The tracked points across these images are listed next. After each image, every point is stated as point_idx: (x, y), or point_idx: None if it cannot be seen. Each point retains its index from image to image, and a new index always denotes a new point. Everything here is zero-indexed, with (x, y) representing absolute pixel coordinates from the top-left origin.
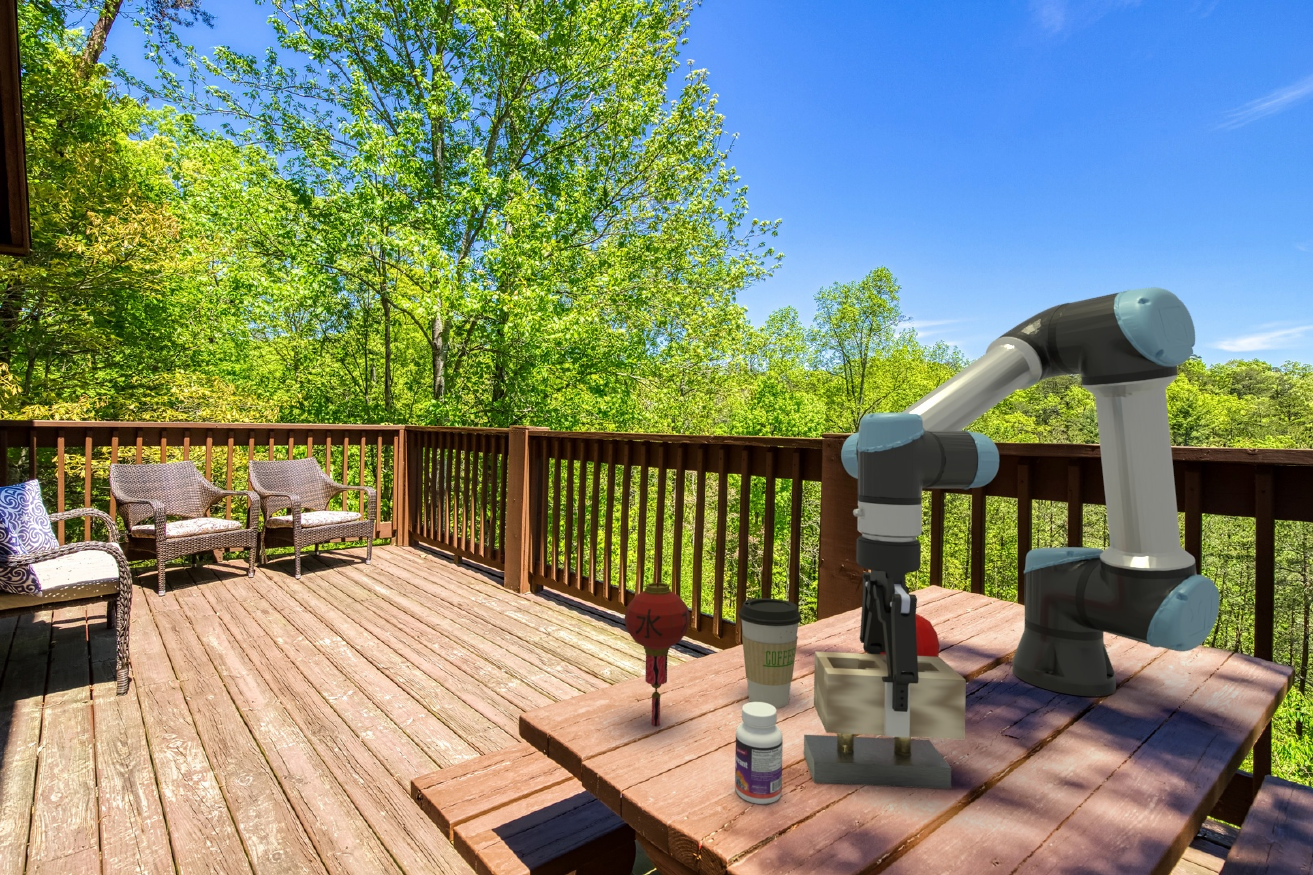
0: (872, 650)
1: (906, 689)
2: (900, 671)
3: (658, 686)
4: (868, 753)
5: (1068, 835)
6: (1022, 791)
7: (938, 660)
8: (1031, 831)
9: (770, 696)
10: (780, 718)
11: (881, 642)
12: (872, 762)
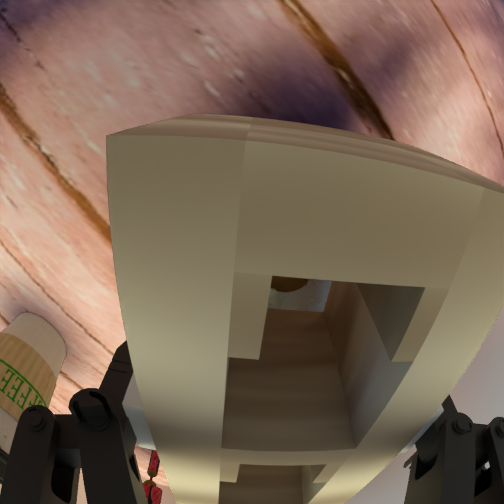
0: (132, 447)
1: (452, 409)
2: (485, 471)
3: (155, 484)
4: (283, 301)
5: (475, 49)
6: (360, 11)
7: (198, 181)
8: (467, 95)
9: (59, 359)
10: (95, 344)
11: (131, 472)
12: (319, 305)
